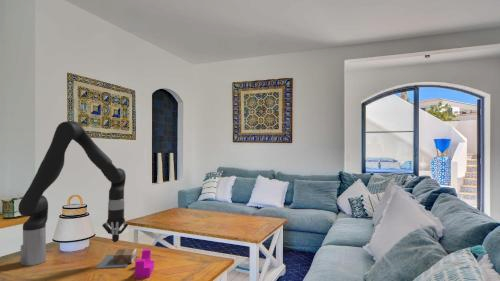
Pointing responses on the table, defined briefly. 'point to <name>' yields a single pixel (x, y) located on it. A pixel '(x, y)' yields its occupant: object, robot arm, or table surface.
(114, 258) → the slab
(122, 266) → the mat
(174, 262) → the table surface
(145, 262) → the toy block
